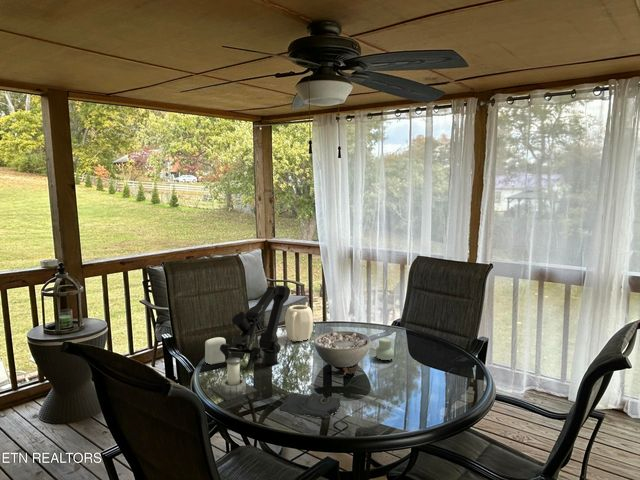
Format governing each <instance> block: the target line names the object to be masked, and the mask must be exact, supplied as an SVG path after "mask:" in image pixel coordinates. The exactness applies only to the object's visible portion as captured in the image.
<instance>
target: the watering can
mask: <svg viewBox="0 0 640 480" xmlns="http://www.w3.org/2000/svg"><path fill="white" fill-rule="evenodd" d="M308 304H309V302H307V301H306V302H305V304H297V305H296V304H294V305H291V306H289V307H287V310H286V312H285V318H284V324H285V331H286V335H287V338H288V339H289V340H290V341H291V340H292V341H291V342H296V341H302V342H304V341H303V340H307V339H308V340H310V339H311V336H312V333H313V327H314V314H313V313H314V312H313V310H312V308H311V307H310V306H309V305H308ZM308 340H307V341H308Z"/></svg>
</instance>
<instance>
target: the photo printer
mask: <svg viewBox="0 0 640 480" xmlns="http://www.w3.org/2000/svg"><path fill="white" fill-rule="evenodd" d="M222 344H227V342H226V338H224V337H220V336H218V337H213V338H210V339H207V340H205V342H204V363H205V362H206V363H208V364H210V365H215V364H221V363H225V355H224V354H223V353H222V352H221V351H220V346H221V345H222Z"/></svg>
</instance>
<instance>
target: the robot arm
mask: <svg viewBox="0 0 640 480" xmlns="http://www.w3.org/2000/svg"><path fill="white" fill-rule="evenodd" d="M290 295H291V288H290V287H289V286H288V285H279V284H276V285H275V286H274V285H268V286H267V287H266V290H265V292H264V293H263V294H262V296H261V297H260V299H259V301H258V302H257V303H256V304H255V305H254V306H252V307H250V308H249V309H248V310H247V311H246V312H244V311H239V313H237V314H235V315H234V316H233V317H232V320H231V322H232V324H233V326H235V327H236V328H237V330H238V331H239V332H240V333H239V334H238V336H237V335H233V336H232V340H231V343H230V344H228V343H226V344H222V345H221V346H220V351H221V352H222V353H223V354H224V355H225V362H224V364H225V368H224V369H226V370H227V363H226V360H227V359H229V358H233V356H232V355H233V354H235V353H237V354H238V353H239V354H245V355H246V354H247V355H249V357H248V358H249V359H248V361H247V364H246V367H245V372H249V369H251V368H252V366H253V365H254V364H255V363H257V362H258V361H259V360H261V359H262V361H261V364H263V365H265V366H266V367H273V366H276V365H280V362H279V361H278V359H279V358H278V354H279V353H280V352H281V349H282V348H281V345H280V344H279V342H278V340H279V338H278V334H277V331H278V326H279V322H280V318H281V314H282V311H283V307H284V304H285V303H286V302H287V301H288V300H289V297H290ZM271 302H273V304H272V306H271V307H272V308H271V311H270V313H269V318H268V323H267V327H266V330H265V331H263V332H261V333H260V336H259V339H258V346H252V344H253V342H254V341H253V338H254V336H255V333H256V332H258V329H257V326H256V325H261V324H262V323H263V320H264V319H265V315H266V314H265V312H266V310H267V308H268V307H269V306H270V304H271ZM231 344H232V345H234V346H235V347H232V345H231ZM251 346H252V347H251Z"/></svg>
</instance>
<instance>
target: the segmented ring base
mask: <svg viewBox="0 0 640 480" xmlns="http://www.w3.org/2000/svg"><path fill="white" fill-rule="evenodd" d="M246 382H247V380H246V379H245V378H243V377H240V384H239V385H235V386H230V385H228V378H225V379H223V380H222V381H221V384H220V385H216V386H212V387H210V390H211V391H212V392H213V391H214V392H213V393H214V394H216V395H218V396H219V397H220V396H221V397H220V398H222V399H223V400H224V399H225V402H228V400H229V401H232V400H234V399H238V398H241V397H245V396H247V395H250V394H254V393H257V392H258V390H257V389H256V388H254V387H253V386H251V385H249V384H248V383H246Z"/></svg>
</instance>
